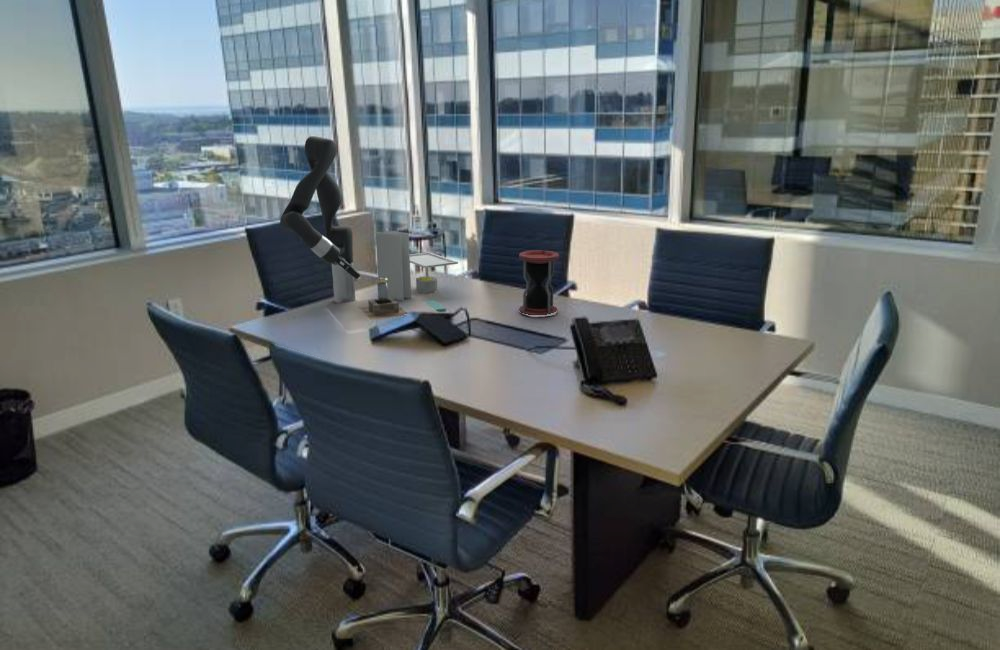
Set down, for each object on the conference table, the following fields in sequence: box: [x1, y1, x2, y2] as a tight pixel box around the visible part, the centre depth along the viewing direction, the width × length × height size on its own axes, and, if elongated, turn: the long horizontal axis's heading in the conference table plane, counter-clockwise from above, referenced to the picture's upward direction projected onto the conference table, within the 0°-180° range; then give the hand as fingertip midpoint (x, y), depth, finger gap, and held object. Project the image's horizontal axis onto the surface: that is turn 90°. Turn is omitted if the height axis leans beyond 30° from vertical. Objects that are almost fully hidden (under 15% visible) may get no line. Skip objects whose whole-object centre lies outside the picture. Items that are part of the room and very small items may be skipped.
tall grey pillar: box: [375, 230, 412, 301], centre depth 304 cm, size 14×6×30 cm, turn 58°
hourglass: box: [518, 249, 560, 315], centre depth 284 cm, size 16×16×25 cm
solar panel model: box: [410, 251, 459, 294], centre depth 322 cm, size 28×17×15 cm, turn 34°
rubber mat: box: [424, 300, 447, 312], centre depth 294 cm, size 14×12×1 cm
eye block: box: [358, 297, 408, 320], centre depth 286 cm, size 20×16×5 cm
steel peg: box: [376, 276, 388, 304], centre depth 284 cm, size 4×4×14 cm
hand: (355, 275), depth 277 cm, fingers open, 8 cm apart
